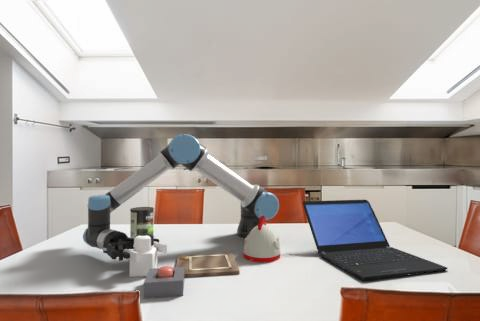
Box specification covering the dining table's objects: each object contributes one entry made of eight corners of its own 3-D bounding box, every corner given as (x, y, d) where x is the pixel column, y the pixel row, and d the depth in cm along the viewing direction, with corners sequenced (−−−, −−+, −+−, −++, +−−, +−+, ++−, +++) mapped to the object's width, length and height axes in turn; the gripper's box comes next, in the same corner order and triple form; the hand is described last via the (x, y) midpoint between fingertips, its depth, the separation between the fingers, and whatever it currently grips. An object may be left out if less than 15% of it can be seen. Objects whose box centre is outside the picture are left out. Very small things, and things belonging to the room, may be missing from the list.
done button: (173, 276, 81) (173, 265, 81) (172, 282, 77) (172, 271, 77) (158, 277, 81) (159, 266, 81) (157, 283, 77) (157, 272, 77)
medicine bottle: (135, 268, 94) (135, 232, 94) (157, 268, 94) (157, 232, 94) (128, 277, 87) (129, 238, 87) (152, 276, 87) (152, 237, 87)
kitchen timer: (283, 252, 111) (283, 214, 111) (276, 264, 98) (276, 221, 98) (249, 249, 116) (249, 212, 116) (238, 259, 102) (238, 218, 103)
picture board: (232, 255, 107) (232, 252, 107) (239, 274, 89) (239, 269, 89) (178, 258, 104) (178, 254, 104) (174, 278, 86) (174, 273, 86)
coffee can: (157, 236, 135) (157, 207, 135) (146, 242, 125) (146, 210, 125) (138, 235, 137) (138, 206, 137) (125, 241, 127) (125, 209, 127)
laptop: (362, 284, 83) (362, 217, 83) (301, 247, 119) (301, 201, 119) (449, 272, 92) (449, 212, 92) (368, 241, 128) (368, 198, 128)
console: (184, 280, 85) (184, 266, 85) (183, 295, 75) (183, 280, 75) (149, 282, 83) (149, 268, 83) (143, 298, 73) (143, 282, 73)
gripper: (140, 244, 110) (179, 255, 97) (80, 260, 92) (118, 276, 79) (140, 225, 110) (179, 233, 97) (80, 237, 92) (118, 249, 79)
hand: (152, 253), depth 88 cm, fingers closed on medicine bottle, 10 cm apart
